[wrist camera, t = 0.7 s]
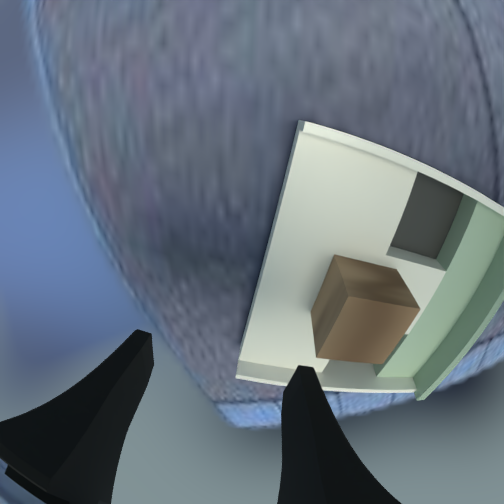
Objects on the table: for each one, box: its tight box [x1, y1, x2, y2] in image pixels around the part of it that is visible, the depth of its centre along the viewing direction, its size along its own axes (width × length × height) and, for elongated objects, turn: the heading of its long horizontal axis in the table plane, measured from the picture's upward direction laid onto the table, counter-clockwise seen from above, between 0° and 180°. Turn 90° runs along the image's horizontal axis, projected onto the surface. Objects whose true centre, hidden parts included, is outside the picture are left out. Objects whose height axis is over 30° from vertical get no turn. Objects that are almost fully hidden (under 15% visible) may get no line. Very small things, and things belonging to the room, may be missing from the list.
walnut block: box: [310, 254, 420, 364], centre depth 15 cm, size 4×4×4 cm
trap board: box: [236, 120, 504, 400], centre depth 17 cm, size 18×18×4 cm
